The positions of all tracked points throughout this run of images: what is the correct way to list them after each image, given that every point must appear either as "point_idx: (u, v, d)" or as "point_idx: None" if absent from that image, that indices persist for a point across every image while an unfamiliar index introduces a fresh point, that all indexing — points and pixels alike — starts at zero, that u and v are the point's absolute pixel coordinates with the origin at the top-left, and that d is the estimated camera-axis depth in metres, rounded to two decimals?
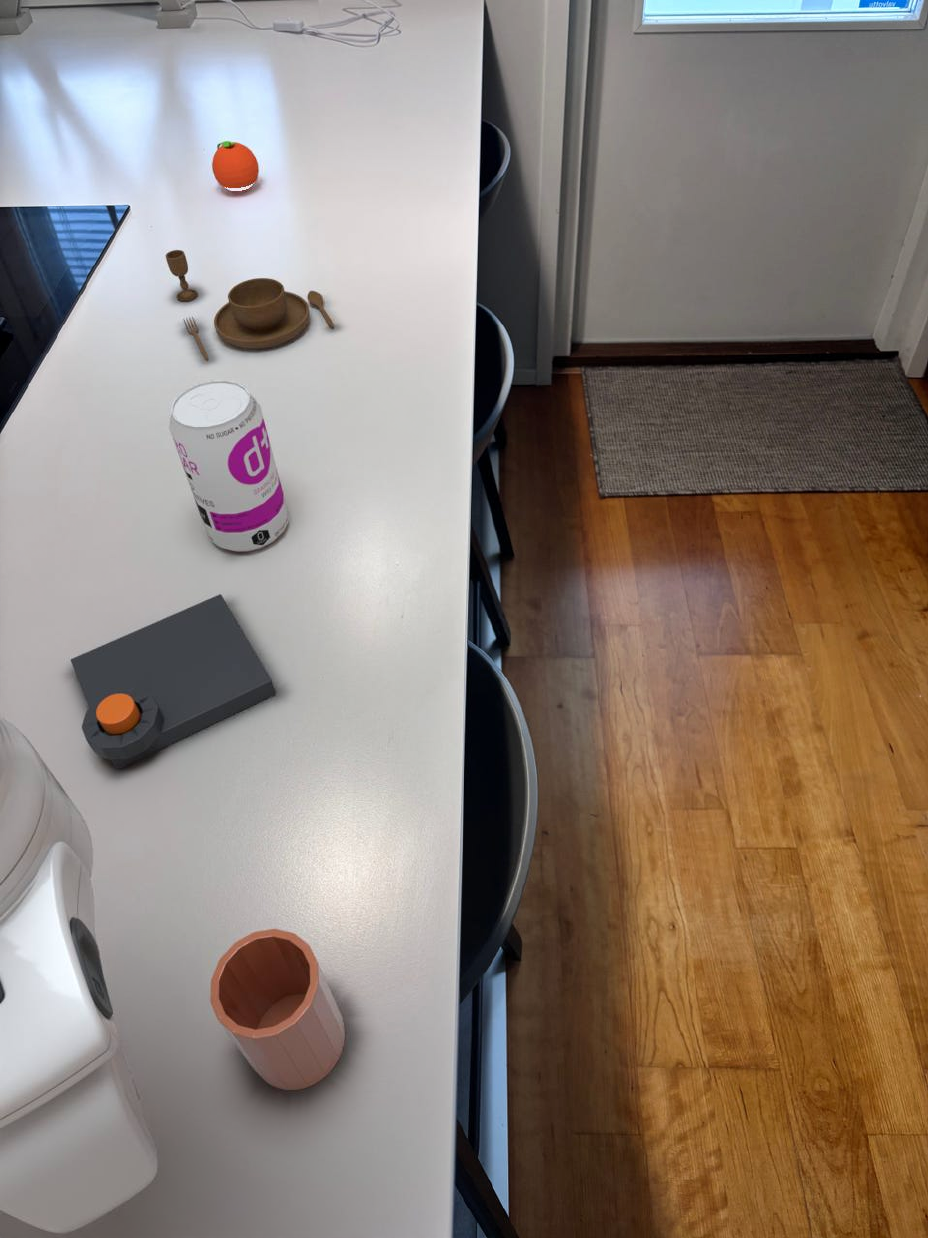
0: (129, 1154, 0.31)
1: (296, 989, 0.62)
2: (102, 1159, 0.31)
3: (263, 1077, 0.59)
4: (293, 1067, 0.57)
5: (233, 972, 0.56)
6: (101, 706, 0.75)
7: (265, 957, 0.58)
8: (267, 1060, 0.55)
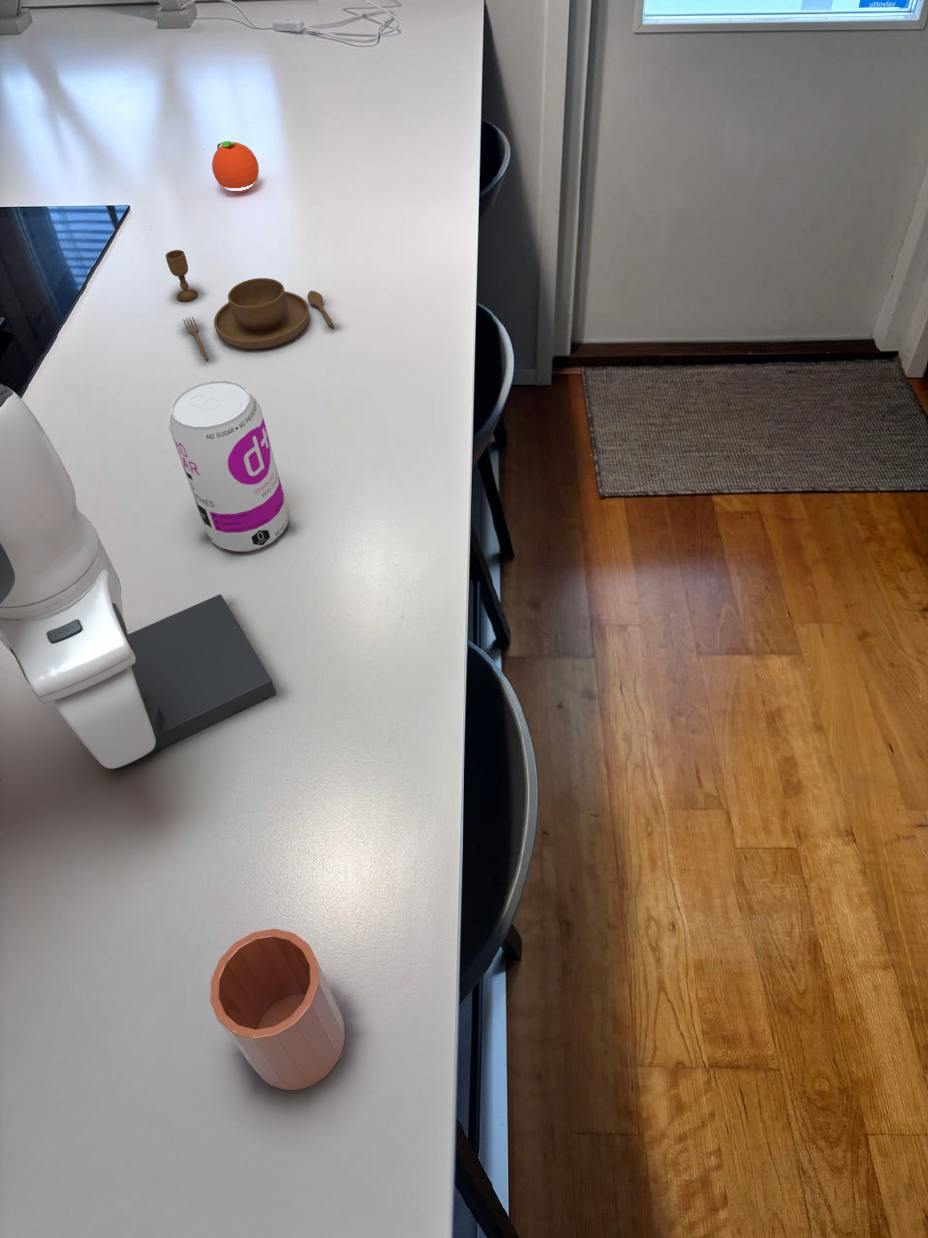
0: (141, 722, 0.63)
1: (296, 989, 0.62)
2: (128, 720, 0.63)
3: (263, 1077, 0.59)
4: (293, 1067, 0.57)
5: (233, 972, 0.56)
6: None
7: (265, 957, 0.58)
8: (267, 1060, 0.55)
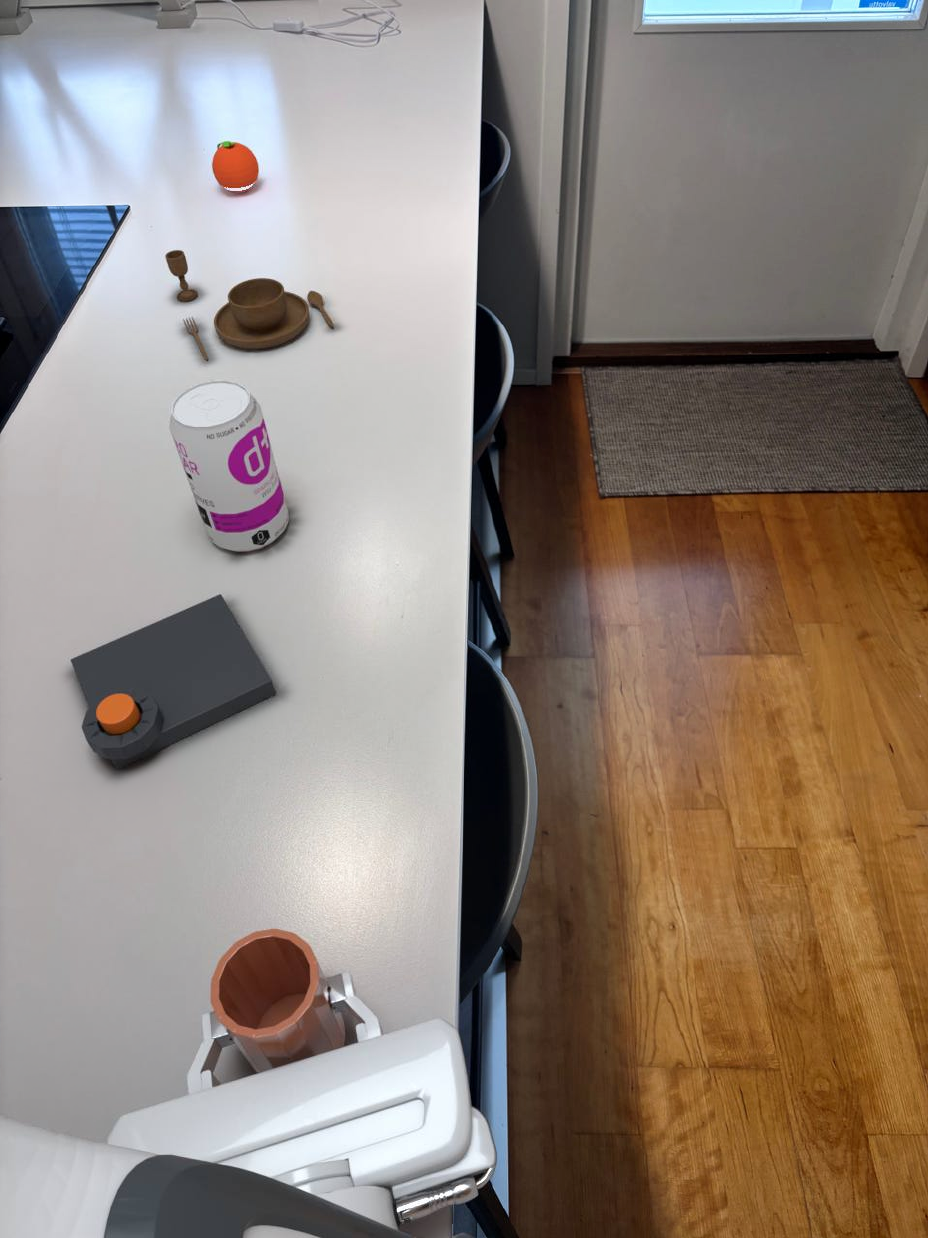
0: None
1: (296, 989, 0.62)
2: None
3: None
4: None
5: (233, 972, 0.56)
6: (101, 706, 0.75)
7: (265, 957, 0.58)
8: (267, 1060, 0.55)
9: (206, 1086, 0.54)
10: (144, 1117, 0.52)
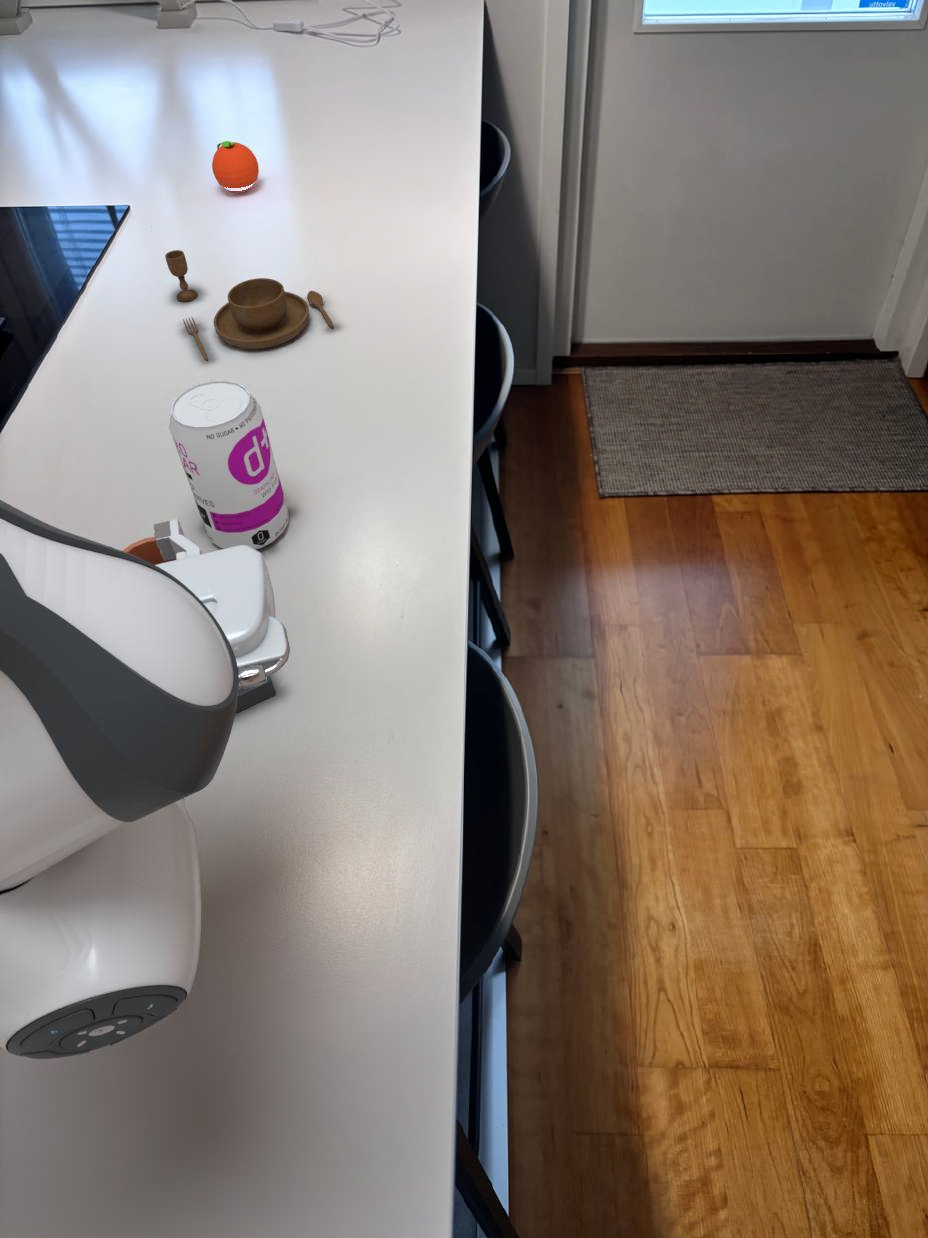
0: None
1: None
2: None
3: None
4: None
5: None
6: None
7: (156, 564, 0.79)
8: None
9: None
10: None
